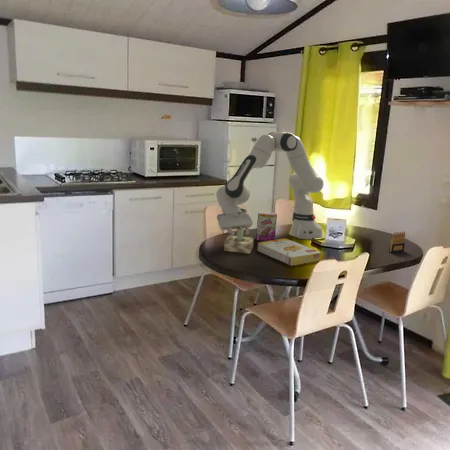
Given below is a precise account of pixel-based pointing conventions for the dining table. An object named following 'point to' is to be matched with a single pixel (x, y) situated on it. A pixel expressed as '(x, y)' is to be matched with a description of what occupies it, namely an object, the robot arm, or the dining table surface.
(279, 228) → the dining table surface
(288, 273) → the dining table surface
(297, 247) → the cereal box
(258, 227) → the candy bar box
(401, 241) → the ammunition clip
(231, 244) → the block with square hole
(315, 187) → the robot arm
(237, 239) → the bottle
